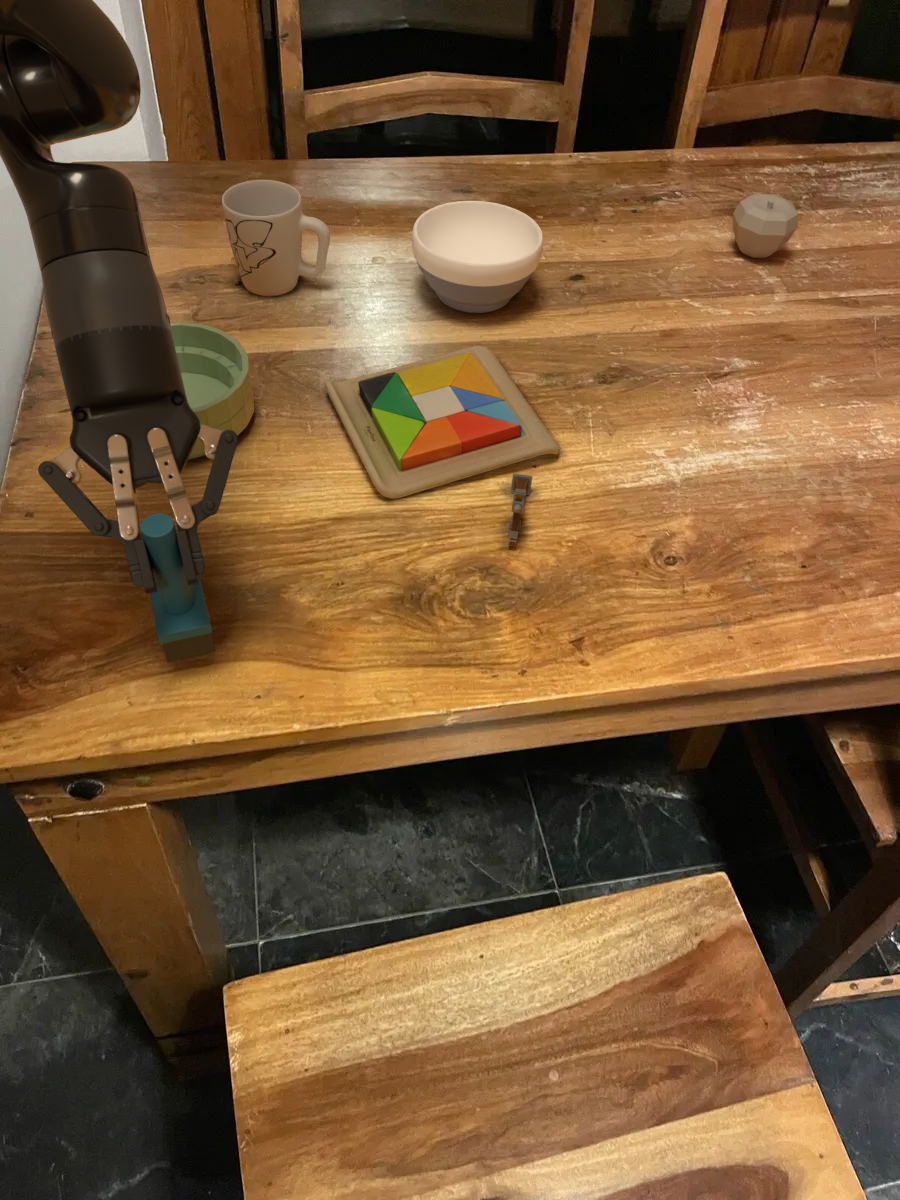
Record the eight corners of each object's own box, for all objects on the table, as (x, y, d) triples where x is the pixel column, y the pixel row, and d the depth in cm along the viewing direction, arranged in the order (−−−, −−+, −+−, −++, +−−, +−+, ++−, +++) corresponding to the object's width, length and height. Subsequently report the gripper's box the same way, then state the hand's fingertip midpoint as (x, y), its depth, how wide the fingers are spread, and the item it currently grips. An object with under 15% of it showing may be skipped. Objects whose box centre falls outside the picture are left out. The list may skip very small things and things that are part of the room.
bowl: (448, 248, 114) (451, 187, 108) (556, 284, 110) (565, 222, 104) (387, 304, 106) (387, 240, 100) (501, 344, 102) (508, 280, 96)
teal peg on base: (217, 652, 71) (192, 546, 61) (166, 664, 70) (132, 558, 60) (205, 601, 74) (179, 492, 64) (156, 611, 73) (123, 503, 63)
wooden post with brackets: (500, 548, 80) (507, 498, 78) (506, 517, 87) (513, 471, 86) (521, 551, 80) (529, 501, 78) (525, 519, 87) (532, 473, 85)
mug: (340, 271, 110) (336, 187, 102) (323, 310, 104) (318, 225, 97) (245, 259, 110) (235, 175, 103) (223, 297, 105) (210, 211, 97)
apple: (748, 272, 114) (764, 221, 109) (711, 241, 119) (725, 190, 114) (800, 261, 116) (818, 210, 112) (762, 231, 121) (778, 181, 116)
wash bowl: (158, 492, 84) (145, 440, 80) (68, 415, 90) (51, 363, 86) (286, 421, 91) (281, 370, 87) (195, 355, 98) (185, 304, 93)
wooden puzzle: (321, 392, 95) (319, 362, 92) (491, 358, 100) (494, 329, 97) (377, 505, 84) (377, 476, 82) (563, 460, 90) (569, 432, 87)
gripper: (-10, 339, 57) (60, 615, 59) (218, 307, 60) (277, 568, 62) (13, 362, 64) (75, 607, 66) (216, 332, 68) (268, 566, 70)
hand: (173, 587), depth 64 cm, fingers closed on teal peg on base, 2 cm apart
